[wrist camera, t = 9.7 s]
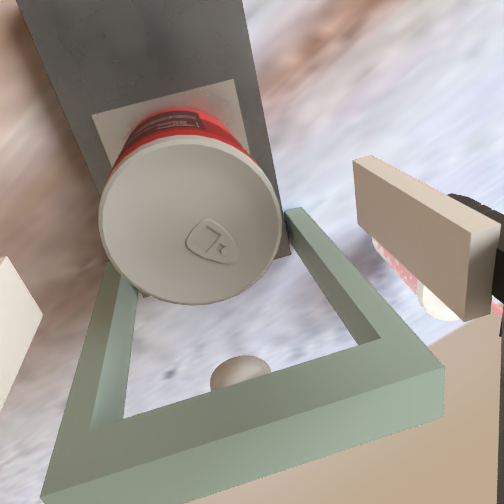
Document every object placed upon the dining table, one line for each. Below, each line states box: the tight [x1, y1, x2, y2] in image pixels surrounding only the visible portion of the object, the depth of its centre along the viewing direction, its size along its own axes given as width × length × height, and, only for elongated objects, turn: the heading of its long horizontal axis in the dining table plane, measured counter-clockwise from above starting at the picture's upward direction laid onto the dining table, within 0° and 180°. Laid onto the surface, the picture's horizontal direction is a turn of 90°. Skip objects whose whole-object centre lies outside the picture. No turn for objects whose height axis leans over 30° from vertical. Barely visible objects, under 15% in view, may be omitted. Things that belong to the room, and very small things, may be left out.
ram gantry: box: [40, 207, 445, 504], centre depth 23 cm, size 3×16×18 cm, turn 104°
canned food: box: [98, 108, 282, 305], centre depth 21 cm, size 8×8×11 cm
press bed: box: [16, 0, 291, 298], centre depth 27 cm, size 20×12×2 cm, turn 14°
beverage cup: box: [372, 237, 503, 321], centre depth 28 cm, size 6×6×14 cm
